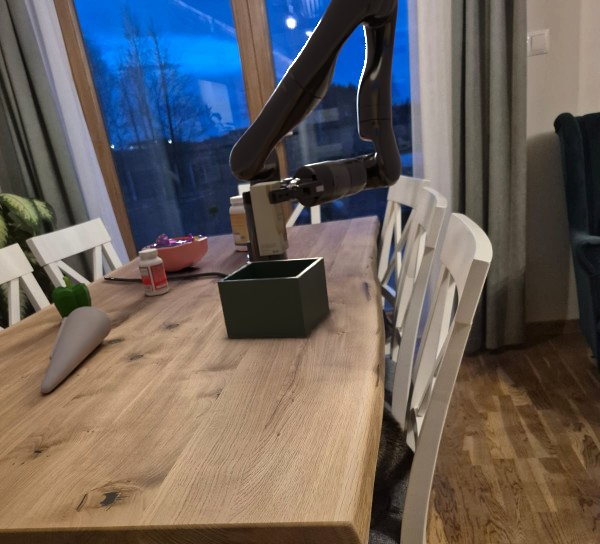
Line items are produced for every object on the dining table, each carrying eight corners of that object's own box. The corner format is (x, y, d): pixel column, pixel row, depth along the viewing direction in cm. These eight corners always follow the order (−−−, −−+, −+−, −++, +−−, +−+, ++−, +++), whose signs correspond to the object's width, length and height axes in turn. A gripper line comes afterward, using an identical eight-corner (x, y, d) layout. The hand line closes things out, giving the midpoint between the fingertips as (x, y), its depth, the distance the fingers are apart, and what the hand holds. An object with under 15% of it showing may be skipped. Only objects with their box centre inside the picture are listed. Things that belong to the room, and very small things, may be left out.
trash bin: (227, 338, 109) (217, 281, 104) (258, 312, 122) (250, 261, 118) (305, 337, 104) (298, 277, 99) (329, 310, 117) (323, 257, 112)
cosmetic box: (282, 255, 105) (272, 183, 99) (259, 257, 106) (248, 186, 100) (289, 247, 110) (280, 179, 105) (267, 249, 111) (257, 182, 106)
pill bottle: (171, 288, 154) (161, 246, 150) (167, 294, 149) (157, 251, 144) (148, 291, 155) (138, 250, 150) (143, 297, 149) (132, 254, 144)
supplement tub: (257, 252, 188) (248, 197, 181) (228, 252, 194) (219, 199, 187) (278, 243, 197) (271, 191, 190) (250, 244, 203) (242, 193, 196)
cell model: (222, 265, 175) (215, 226, 171) (160, 280, 166) (151, 240, 161) (198, 259, 188) (191, 224, 184) (140, 273, 179) (131, 236, 174)
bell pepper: (93, 321, 134) (81, 278, 129) (57, 327, 133) (43, 284, 129) (98, 311, 141) (87, 271, 137) (64, 317, 140) (52, 276, 136)
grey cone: (85, 362, 92) (105, 303, 114) (29, 371, 91) (60, 309, 113) (98, 403, 96) (115, 339, 118) (45, 412, 95) (72, 345, 117)
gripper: (294, 164, 115) (228, 177, 106) (347, 160, 105) (280, 174, 96) (299, 203, 119) (235, 219, 109) (351, 203, 109) (286, 220, 99)
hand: (256, 198), depth 102 cm, fingers closed on cosmetic box, 7 cm apart
